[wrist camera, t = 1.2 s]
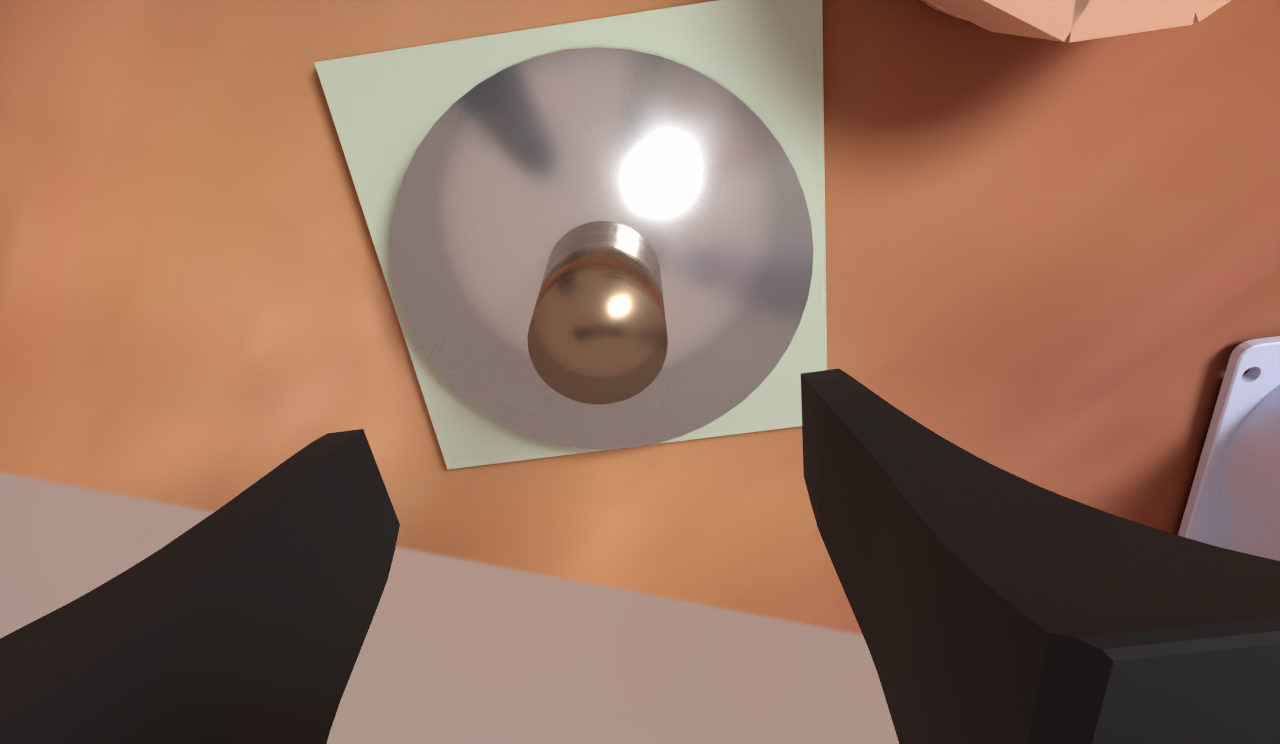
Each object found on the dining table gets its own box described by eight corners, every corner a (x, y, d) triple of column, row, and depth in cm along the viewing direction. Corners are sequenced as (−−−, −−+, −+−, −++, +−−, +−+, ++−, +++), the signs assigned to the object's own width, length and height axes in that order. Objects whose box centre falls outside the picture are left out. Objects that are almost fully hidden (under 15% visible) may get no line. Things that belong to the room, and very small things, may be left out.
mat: (824, 415, 22) (827, 422, 22) (450, 462, 23) (447, 469, 23) (818, -16, 17) (821, -16, 16) (320, 61, 17) (314, 62, 17)
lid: (811, 410, 22) (854, 513, 18) (459, 454, 22) (420, 563, 18) (800, 11, 17) (858, 22, 12) (341, 82, 17) (248, 114, 13)
